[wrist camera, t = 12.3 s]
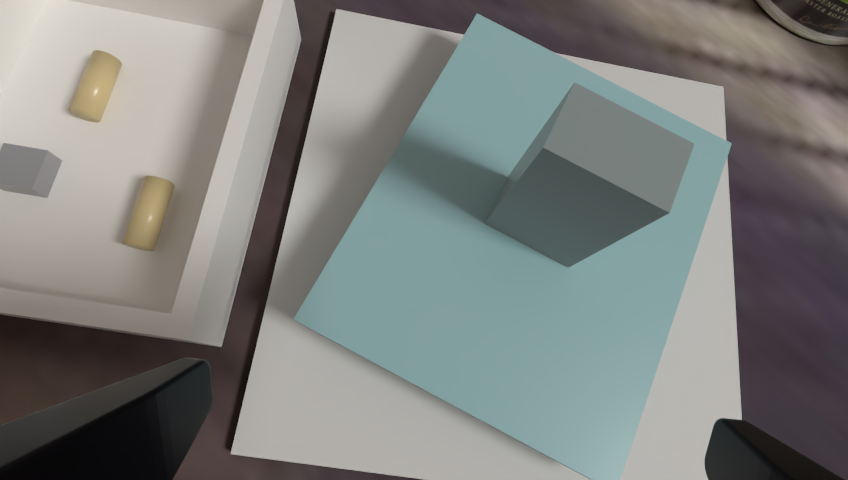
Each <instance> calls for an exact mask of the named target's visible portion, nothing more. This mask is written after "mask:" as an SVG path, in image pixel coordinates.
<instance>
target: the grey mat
mask: <svg viewBox="0 0 848 480" xmlns="http://www.w3.org/2000/svg"><path fill="white" fill-rule="evenodd" d="M463 36H464V35H463V34H458V33H453V32H448V31H443V30H438V29H433V28H428V27H423V26H418V25H413V24H408V23H403V22H398V21H393V20H388V19H383V18H378V17H373V16H368V15H363V14H358V13H353V12H348V11H343V10H338V9H336V13H335V17H334V22H333V26H332V30H331V34H330V38H329V43H328V47H327V51H326V55H325V59H324V64H323V68H322V72H321V76H320V80H319V85H318V89H317V93H316V97H315V101H314V105H313V110H312V114H311V118H310V122H309V126H308V131H307V135H306V139H305V143H304V147H303V152H302V156H301V160H300V164H299V168H298V173H297V177H296V181H295V185H294V189H293V194H292V198H291V202H290V206H289V210H288V215H287V219H286V223H285V227H284V231H283V236H282V240H281V244H280V248H279V252H278V257H277V261H276V265H275V269H274V273H273V278H272V282H271V286H270V290H269V294H268V299H267V303H266V307H265V311H264V315H263V320H262V324H261V328H260V332H259V336H258V340H257V345H256V349H255V353H254V357H253V361H252V366H251V370H250V374H249V378H248V382H247V387H246V391H245V395H244V399H243V403H242V408H241V412H240V416H239V420H238V424H237V429H236V433H235V437H234V441H233V445H232V450H231V454H234V455H241V456H249V457H257V458H264V459H272V460H280V461H287V462H295V463H303V464H310V465H318V466H325V467H333V468H341V469H348V470H356V471H364V472H371V473H379V474H387V475H394V476H402V477H410V478H417V479H425V480H590V479H588V478H586V477H584V476H583V475H581V474H579V473H577V472H575V471H573V470H571V469H569V468H568V467H566V466H564V465H562V464H560V463H558V462H556V461H555V460H553V459H551V458H549V457H547V456H545V455H543V454H542V453H540V452H538V451H536V450H534V449H532V448H530V447H529V446H527V445H525V444H523V443H521V442H519V441H517V440H516V439H514V438H512V437H510V436H508V435H506V434H504V433H502V432H501V431H499V430H497V429H495V428H493V427H491V426H489V425H488V424H486V423H484V422H482V421H480V420H478V419H476V418H475V417H473V416H471V415H469V414H467V413H465V412H463V411H462V410H460V409H458V408H456V407H454V406H452V405H450V404H449V403H447V402H445V401H443V400H441V399H439V398H437V397H435V396H434V395H432V394H430V393H428V392H426V391H424V390H422V389H421V388H419V387H417V386H415V385H413V384H411V383H409V382H408V381H406V380H404V379H402V378H400V377H398V376H396V375H395V374H393V373H391V372H389V371H387V370H385V369H383V368H382V367H380V366H378V365H376V364H374V363H372V362H370V361H368V360H367V359H365V358H363V357H361V356H359V355H357V354H355V353H354V352H352V351H350V350H348V349H346V348H344V347H342V346H341V345H339V344H337V343H335V342H333V341H331V340H329V339H328V338H326V337H324V336H322V335H320V334H318V333H316V332H315V331H313V330H311V329H309V328H307V327H305V326H303V325H302V324H300V323H298V322H296V321H295V320H294V317H295V316H296V314H297V312H298V311H299V309H300V307H301V306H302V304H303V302H304V301H305V299H306V297H307V296H308V294H309V292H310V291H311V289H312V287H313V286H314V284H315V282H316V281H317V279H318V277H319V276H320V274H321V272H322V271H323V269H324V267H325V266H326V264H327V262H328V261H329V259H330V258H331V256H332V254H333V253H334V251H335V249H336V248H337V246H338V244H339V243H340V241H341V239H342V238H343V236H344V234H345V233H346V231H347V229H348V228H349V226H350V224H351V223H352V221H353V219H354V218H355V216H356V214H357V213H358V211H359V209H360V208H361V206H362V204H363V203H364V201H365V199H366V198H367V196H368V194H369V193H370V191H371V189H372V188H373V186H374V184H375V183H376V181H377V179H378V178H379V176H380V174H381V173H382V171H383V169H384V168H385V166H386V164H387V163H388V161H389V159H390V158H391V156H392V154H393V153H394V151H395V149H396V148H397V146H398V144H399V143H400V141H401V139H402V138H403V136H404V134H405V133H406V131H407V129H408V128H409V126H410V124H411V123H412V121H413V119H414V118H415V116H416V114H417V113H418V111H419V109H420V108H421V106H422V104H423V103H424V101H425V99H426V98H427V96H428V94H429V93H430V91H431V89H432V88H433V86H434V84H435V83H436V81H437V79H438V78H439V76H440V74H441V73H442V71H443V69H444V68H445V66H446V65H447V63H448V61H449V60H450V58H451V56H452V55H453V53H454V51H455V50H456V48H457V46H458V45H459V43H460V41H461V40H462V38H463ZM556 54H557V53H556ZM558 55H560V56H562V57H563V58H565V59H567V60H569V61H571V62H573V63H575V64H577V65H579V66H581V67H583V68H585V69H587V70H589V71H591V72H593V73H595V74H597V75H599V76H601V77H603V78H605V79H607V80H608V81H610V82H612V83H614V84H616V85H618V86H620V87H622V88H624V89H626V90H628V91H630V92H632V93H634V94H636V95H638V96H640V97H642V98H644V99H646V100H648V101H650V102H652V103H654V104H655V105H657V106H659V107H661V108H663V109H665V110H667V111H669V112H671V113H673V114H675V115H677V116H679V117H681V118H683V119H685V120H687V121H689V122H691V123H693V124H695V125H697V126H699V127H701V128H702V129H704V130H706V131H708V132H710V133H712V134H714V135H716V136H718V137H720V138H722V139H724V140H726V125H725V107H724V89H723V87H721V86H716V85H711V84H706V83H701V82H696V81H691V80H686V79H681V78H676V77H672V76H667V75H662V74H657V73H652V72H647V71H642V70H637V69H632V68H627V67H622V66H617V65H612V64H607V63H602V62H597V61H592V60H587V59H582V58H577V57H572V56H567V55H562V54H558ZM720 418H728V419H737V420H742V415H741V397H740V379H739V361H738V343H737V325H736V307H735V288H734V270H733V252H732V234H731V216H730V198H729V180H728V162H727V159H726V162H725V165H724V168H723V171H722V174H721V177H720V180H719V183H718V186H717V189H716V192H715V195H714V198H713V201H712V204H711V208H710V211H709V214H708V217H707V220H706V223H705V226H704V229H703V232H702V235H701V238H700V241H699V244H698V247H697V250H696V253H695V256H694V259H693V262H692V265H691V268H690V271H689V274H688V277H687V280H686V283H685V286H684V289H683V292H682V295H681V298H680V301H679V304H678V307H677V310H676V313H675V316H674V319H673V322H672V325H671V328H670V331H669V334H668V337H667V340H666V344H665V347H664V350H663V353H662V356H661V359H660V362H659V365H658V368H657V371H656V374H655V377H654V380H653V383H652V386H651V389H650V392H649V395H648V398H647V401H646V404H645V407H644V410H643V413H642V416H641V419H640V422H639V425H638V428H637V431H636V434H635V437H634V440H633V443H632V446H631V449H630V452H629V455H628V458H627V461H626V464H625V467H624V470H623V473H622V477H621V480H708V478H707V475H706V471H705V463H704V462H705V455H706V451H707V447H708V444H709V440H710V436H711V433H712V429H713V426H714V423H715V422H716V420H718V419H720Z"/></svg>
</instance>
